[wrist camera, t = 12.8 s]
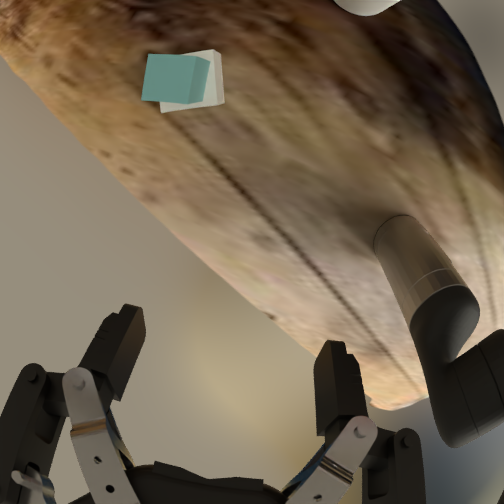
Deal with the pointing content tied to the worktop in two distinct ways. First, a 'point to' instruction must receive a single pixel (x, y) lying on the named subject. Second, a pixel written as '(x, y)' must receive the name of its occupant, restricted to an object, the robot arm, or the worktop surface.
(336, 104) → the worktop surface
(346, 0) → the mug
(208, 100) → the pedestal block
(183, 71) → the teal cube
